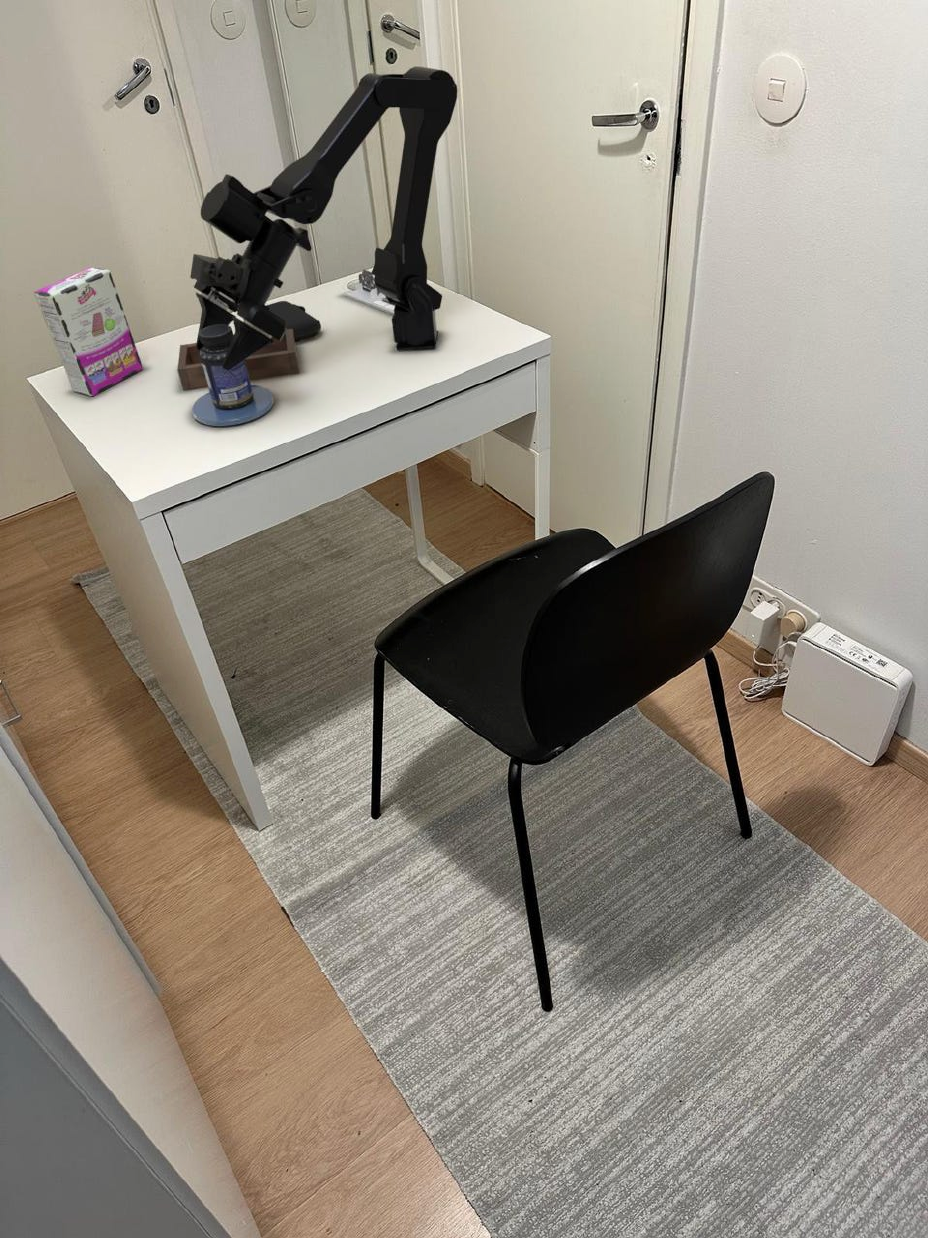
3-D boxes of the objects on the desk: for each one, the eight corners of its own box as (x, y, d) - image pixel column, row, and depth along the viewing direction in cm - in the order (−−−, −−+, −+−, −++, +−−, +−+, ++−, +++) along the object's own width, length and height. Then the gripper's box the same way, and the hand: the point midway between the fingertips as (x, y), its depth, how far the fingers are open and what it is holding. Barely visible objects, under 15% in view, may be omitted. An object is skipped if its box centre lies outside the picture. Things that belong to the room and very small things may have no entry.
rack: (296, 348, 151) (292, 328, 148) (299, 372, 143) (295, 351, 141) (185, 365, 149) (180, 344, 147) (183, 390, 141) (177, 369, 139)
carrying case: (332, 334, 154) (295, 310, 164) (329, 317, 152) (292, 294, 162) (275, 352, 150) (241, 326, 160) (272, 334, 148) (237, 310, 158)
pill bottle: (262, 395, 135) (245, 324, 128) (237, 413, 131) (218, 341, 124) (230, 389, 138) (212, 319, 131) (204, 407, 134) (184, 335, 127)
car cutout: (344, 296, 168) (341, 271, 165) (373, 285, 171) (369, 261, 168) (394, 315, 159) (390, 289, 156) (422, 303, 162) (420, 278, 159)
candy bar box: (124, 364, 151) (90, 265, 140) (144, 369, 149) (112, 269, 138) (70, 392, 144) (31, 290, 133) (91, 397, 142) (53, 294, 131)
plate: (282, 389, 139) (280, 382, 138) (263, 426, 130) (262, 419, 129) (207, 391, 140) (205, 385, 140) (183, 429, 131) (181, 422, 131)
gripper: (189, 215, 127) (138, 314, 129) (246, 244, 115) (189, 352, 117) (252, 257, 135) (203, 350, 138) (311, 288, 123) (257, 389, 126)
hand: (211, 359), depth 129 cm, fingers open, 9 cm apart
